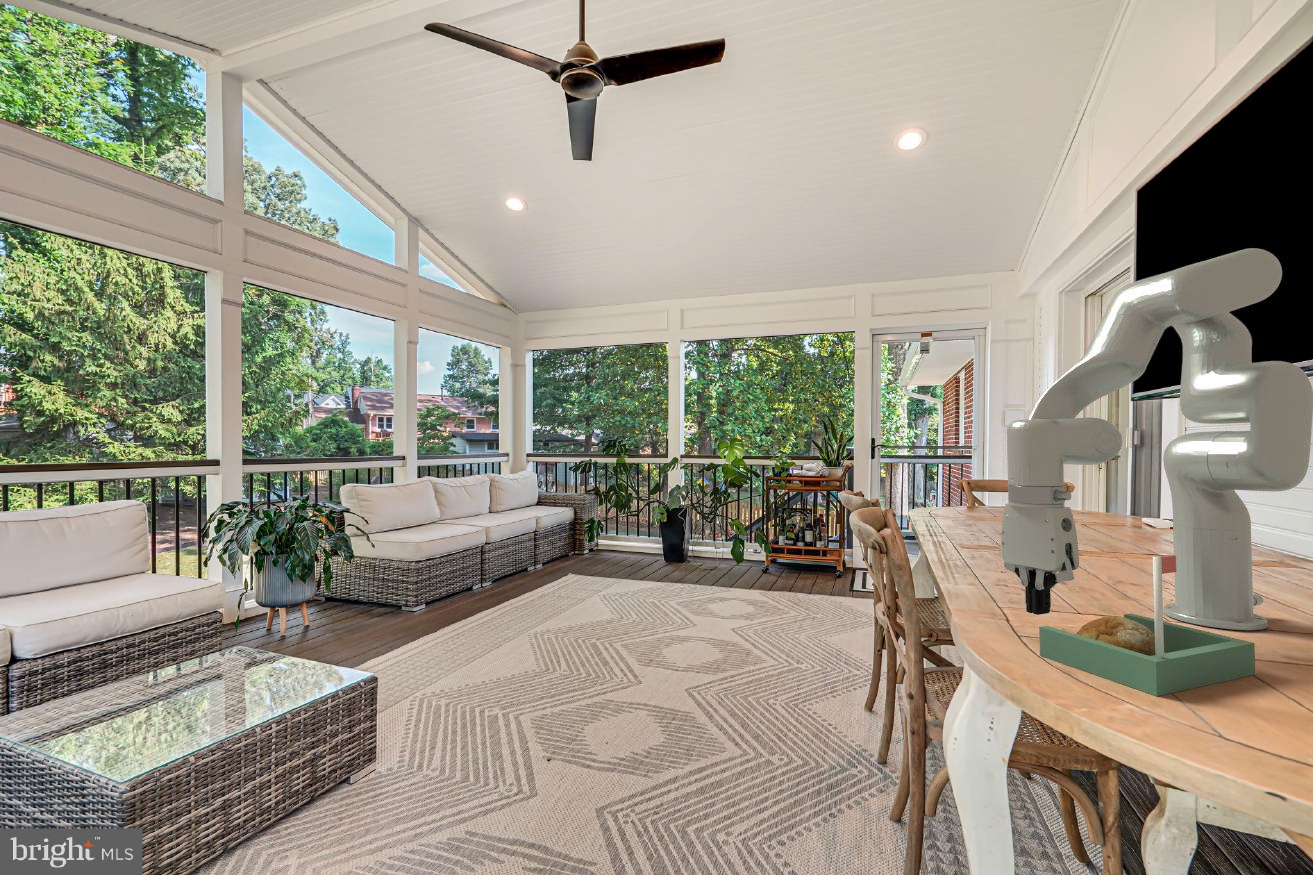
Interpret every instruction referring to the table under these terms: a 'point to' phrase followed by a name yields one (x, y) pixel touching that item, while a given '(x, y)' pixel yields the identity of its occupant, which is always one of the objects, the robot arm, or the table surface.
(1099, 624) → the bread roll
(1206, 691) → the table surface
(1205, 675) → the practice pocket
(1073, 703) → the table surface
